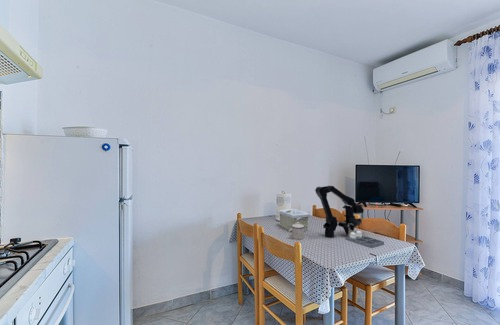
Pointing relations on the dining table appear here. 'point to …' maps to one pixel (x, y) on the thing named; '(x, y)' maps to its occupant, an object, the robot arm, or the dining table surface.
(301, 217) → the storage basket
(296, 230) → the teacup with lid
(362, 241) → the egg tray
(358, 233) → the cream egg
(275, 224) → the dining table surface
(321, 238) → the dining table surface
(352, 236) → the cream egg
